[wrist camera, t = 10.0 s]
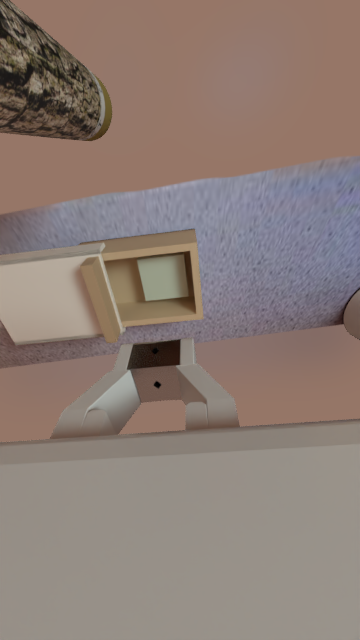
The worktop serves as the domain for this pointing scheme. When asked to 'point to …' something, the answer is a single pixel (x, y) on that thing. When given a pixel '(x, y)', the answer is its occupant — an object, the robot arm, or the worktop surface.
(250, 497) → the robot arm
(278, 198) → the worktop surface
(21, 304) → the lid
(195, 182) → the worktop surface
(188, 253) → the tan open box
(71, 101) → the bark textured cylinder
